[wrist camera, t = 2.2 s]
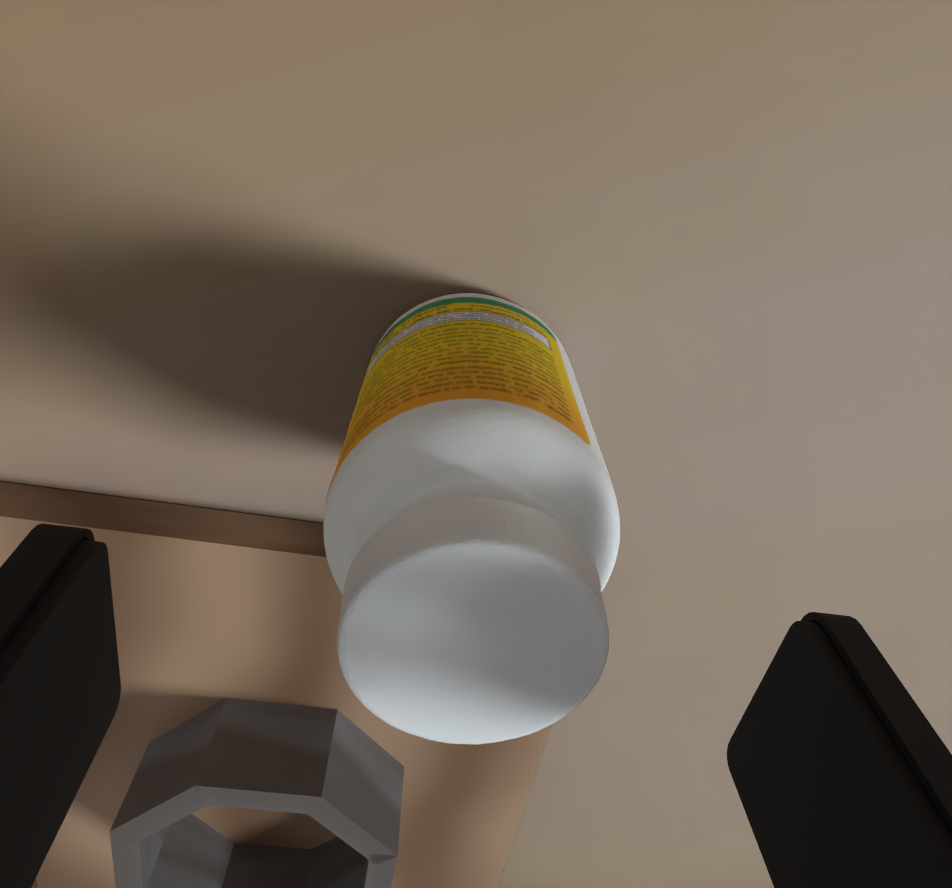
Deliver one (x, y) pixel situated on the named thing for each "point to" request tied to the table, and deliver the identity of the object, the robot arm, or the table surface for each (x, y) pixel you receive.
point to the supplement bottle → (471, 527)
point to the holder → (256, 723)
